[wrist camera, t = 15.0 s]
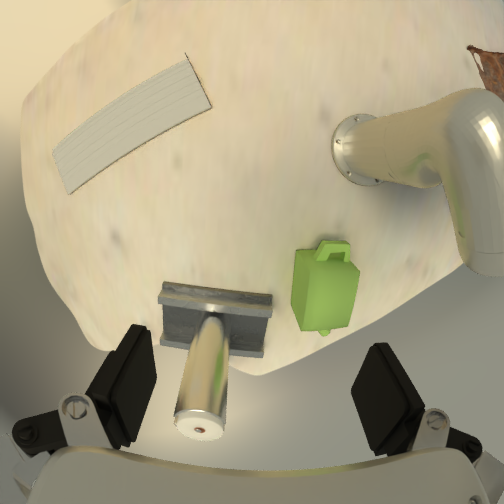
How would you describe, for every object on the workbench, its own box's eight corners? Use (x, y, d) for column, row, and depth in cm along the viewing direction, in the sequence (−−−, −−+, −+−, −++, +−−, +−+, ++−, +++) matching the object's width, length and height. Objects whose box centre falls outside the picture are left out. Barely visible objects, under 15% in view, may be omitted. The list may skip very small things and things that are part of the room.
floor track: (271, 294, 49) (273, 305, 46) (260, 349, 54) (261, 361, 50) (163, 281, 48) (157, 291, 44) (165, 337, 52) (160, 348, 49)
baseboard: (52, 143, 39) (72, 193, 43) (44, 143, 36) (64, 195, 40) (186, 53, 36) (213, 108, 39) (182, 47, 33) (210, 105, 37)
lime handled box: (334, 319, 52) (351, 348, 44) (288, 322, 52) (297, 353, 43) (349, 234, 46) (374, 252, 37) (297, 233, 46) (312, 252, 37)
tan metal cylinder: (210, 299, 48) (188, 409, 25) (238, 318, 50) (236, 430, 26) (190, 321, 50) (162, 429, 26) (218, 339, 51) (206, 448, 28)
